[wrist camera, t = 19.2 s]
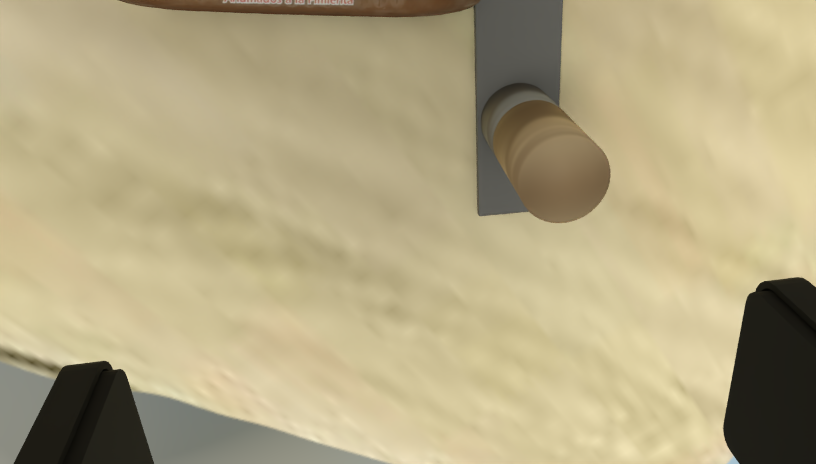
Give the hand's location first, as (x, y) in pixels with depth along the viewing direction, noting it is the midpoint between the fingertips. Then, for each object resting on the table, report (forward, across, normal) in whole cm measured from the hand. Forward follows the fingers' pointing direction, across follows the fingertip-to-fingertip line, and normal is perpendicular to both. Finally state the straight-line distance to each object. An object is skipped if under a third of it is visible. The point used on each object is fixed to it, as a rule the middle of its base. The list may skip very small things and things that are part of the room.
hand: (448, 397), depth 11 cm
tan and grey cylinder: (+24, -7, +4) cm, 26 cm away
